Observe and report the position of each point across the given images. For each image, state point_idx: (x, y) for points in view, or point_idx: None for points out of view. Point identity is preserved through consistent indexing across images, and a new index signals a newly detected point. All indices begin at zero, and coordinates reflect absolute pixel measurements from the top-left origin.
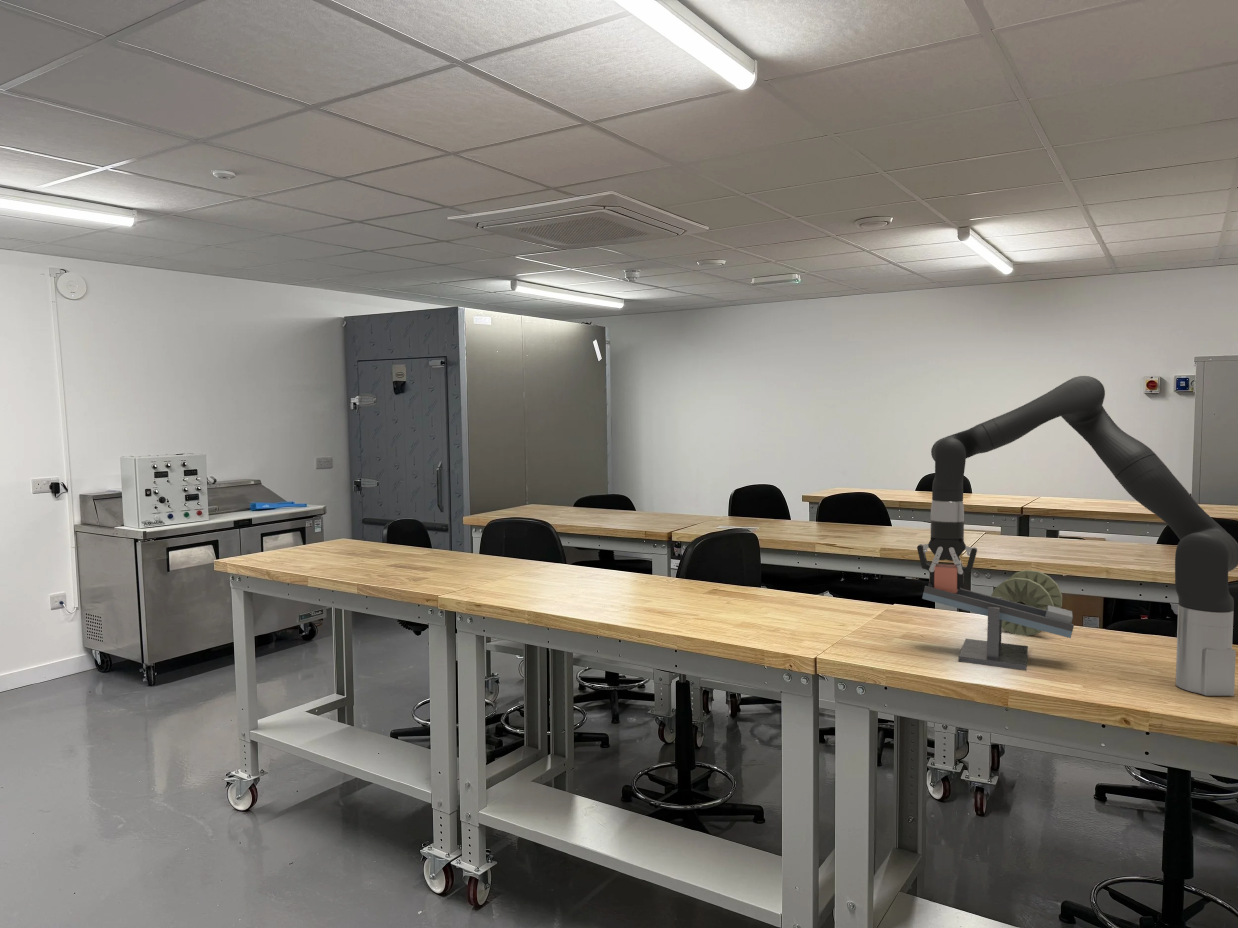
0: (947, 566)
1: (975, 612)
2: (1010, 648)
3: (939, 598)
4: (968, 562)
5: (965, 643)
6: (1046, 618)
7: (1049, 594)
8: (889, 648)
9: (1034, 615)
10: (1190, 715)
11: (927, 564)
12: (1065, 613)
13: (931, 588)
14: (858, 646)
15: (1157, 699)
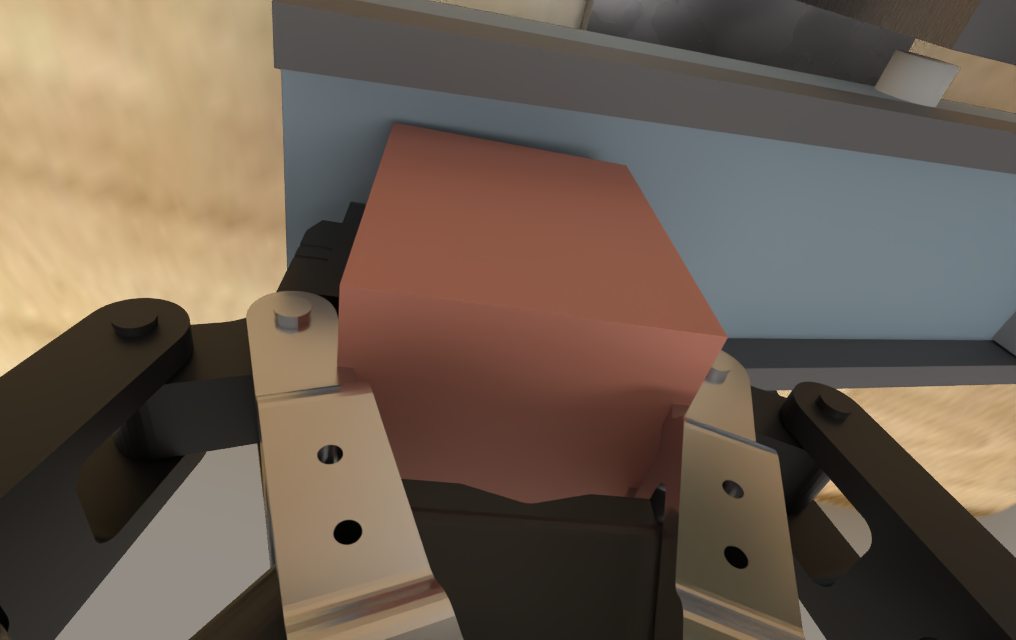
0: (512, 466)
1: None
2: (826, 47)
3: None
4: (804, 597)
5: (600, 11)
6: (1003, 381)
7: None
8: (199, 159)
9: (958, 383)
10: (964, 495)
11: (190, 428)
12: None
13: None
14: (42, 175)
15: (984, 428)
